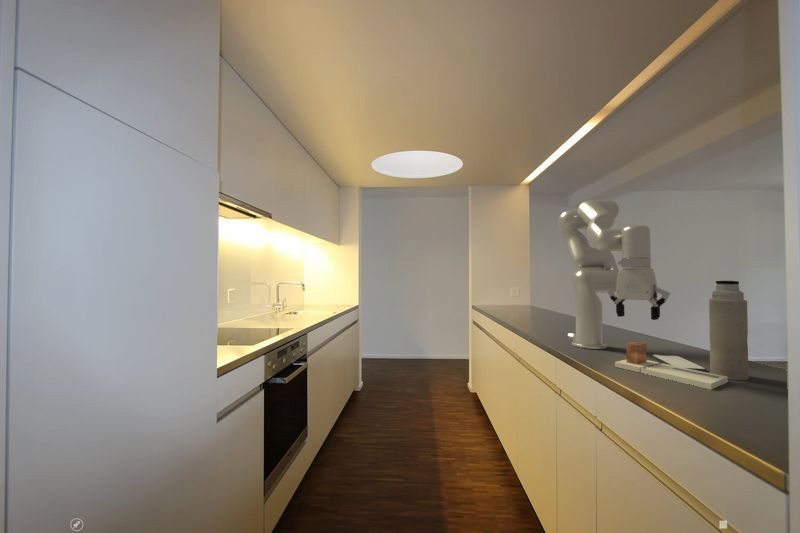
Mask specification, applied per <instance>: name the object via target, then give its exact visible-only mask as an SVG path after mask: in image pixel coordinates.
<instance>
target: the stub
mask: <svg viewBox="0 0 800 533" xmlns="http://www.w3.org/2000/svg"><path fill="white" fill-rule="evenodd" d="M647 349H648V348H647V343H646V342H641V341H632V342H627V343H626V359H622V360H617V361H615V362H614V367H615V368H618V369H619V368H620V369H623V370H627V371H631V372H636V373H641V368H643V367H647V366H650V365H654V364H657V363H659V362H658V361H654V360H649V359H648V358H647V352H648V351H647ZM647 359H648V360H647Z"/></svg>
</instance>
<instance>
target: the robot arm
mask: <svg viewBox="0 0 800 533" xmlns="http://www.w3.org/2000/svg"><path fill="white" fill-rule="evenodd" d="M619 208H620V207H619V205H618V204H617V202H616V201H614V200H611V199H588V200H585V201H582V202H581V203H580V204H579V206H578V207H577V209H569V210H565V211H563V212H561V214H560V215H559V217H558V230H559V233H560V236H561V237H562V239H563V240H564V242H565V245H566V248H567V251H568V254H569V258H570V261H571V264H572V266H573V268H574V269H575V270H577V271H575V273H574V274H573V276H572V283H573V289H574V296H575V333H572V332H568V334H567V338H569V339H572V341H571V345H572V346H573V347H577V348H581V349H588V350H590V349H591V350H604V349H607V348H608V345H607V344H606V343H604V342H603V304H602V300H601V299H600V298H599V296H598V295H597V293H607V294H608V295H609V296H608V297H609V298H610V300H611V301H613V304H614V305H615V313H616V314H617V315H616V316H617V317H625V304H624V302H625V301H626V300H634V301H648V302H649V303H650V305H652V306H651V307H650V319H651V320H653V321H656V320H657V321H658V320H659V318H660V317H661V310H660V309H661V306H663V305H664V304H665V303H666V302H667V301H668V299H669V297H670V296H671V293H670V292H669V291H667V290H665V289H664V288H663V289H662V288H661V287H658V285H657V283H658V282H657V280H656V279H657V277H656V274H655V270H654V268H653V267H652V265H651V264H652V263H651V262H652V261H651V260H652V258H651V256H652V255H651V254H652V253H651V230H650V227H649V226H647V225H643V224H642V225H641V224H639V225H638V224H637V225H630V226H625V227H623V228H612V227H613V225H614V224H615V220H616V219H617V217H618V215H619V211H620V209H619ZM579 230H586V236H585V234H583V233H582V232H581V231H579ZM590 244H591V245H592V247H591V245H590ZM615 251H616V252H621V260H620V261H618V262H616V259H615V257H614V254H613V253H612V252H615ZM618 266H621V268H618ZM658 294H660V295H661V297H660V298H659V299H657V298H658Z"/></svg>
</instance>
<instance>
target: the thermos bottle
mask: <svg viewBox="0 0 800 533" xmlns="http://www.w3.org/2000/svg"><path fill="white" fill-rule="evenodd" d="M715 284H716V286H715V290H713V291H712V293H711V296H712V297H711V298H709V299H708V301H709V302H708V304H709V305H708V307H709V310H708V311H709V313H708V314H709V315H708V316H709V317H708V318H709V373H712V374H717V375H722V376H727V377H728V380H735V381H747V380H749V347H748V346H749V345H748V335H749V332H748V331H749V330H748V328H749V327H748V318H749V317H748V301H747V300H746V299H745V294H744V292H742V291H741V290H740V285H739V284H740V282H739V281H738V280H717V281H715Z"/></svg>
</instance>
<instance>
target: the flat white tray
mask: <svg viewBox="0 0 800 533" xmlns="http://www.w3.org/2000/svg"><path fill="white" fill-rule="evenodd" d="M642 373H644V374H643V375H647V374H648V375H647V376H651V375H652V377H655V376H656V378H660V379H663V380H668V379H669V381H672V380H673V382H676V381H677V383H681V384H686V385H689V384H690V386H693V385H694V387H699V388H703V389H706V390H710V391H711V390H714V389H715V388H719V387H720V386H723V385H725V384H726V383H728V382H729V379H728V377H727V376H722V375H717V374H712V373H710V372H708V371H707V372H702V371H697V370H692V369H687V368H682V367H677V366H672V365H668V364H663V363H660V362H658V363H657V364H654V365H650V366H647V367H643V368H641V372H640V374H642Z"/></svg>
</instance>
